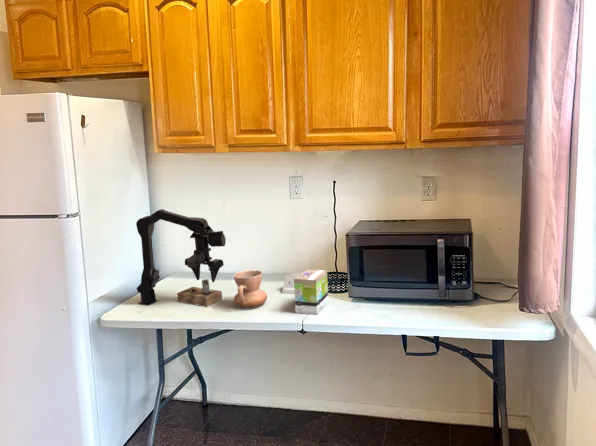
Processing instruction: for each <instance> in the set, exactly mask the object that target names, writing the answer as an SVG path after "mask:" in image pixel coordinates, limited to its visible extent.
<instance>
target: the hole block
mask: <svg viewBox="0 0 596 446" xmlns="http://www.w3.org/2000/svg"><path fill="white" fill-rule="evenodd" d="M209 289H210V288H209ZM176 294H177V302H180V303H181V302H182V303H186V304H191V303H192V305H196V304H197V306H202V305H204V306H203V307H209V306H212V305H214V304H216V303H218V302H220V301H222V300H223V293H222V290H217V289H210V294H209V295H203V287H197V286H191V287H188V288H186V289H184V290H181V291H179V292H177V293H176ZM211 304H212V305H211Z"/></svg>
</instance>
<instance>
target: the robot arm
mask: <svg viewBox="0 0 596 446" xmlns="http://www.w3.org/2000/svg"><path fill="white" fill-rule="evenodd" d="M159 221H165V222H169V223H172V224H176V225H177V226H183V227H185V228H187V230H189V231H191V232H192V233H191V235H190V236H189V239H194V245H195V249H194V250H193V255H190V256H189V257H187V258H185V260H184V265H185V266H187V268H189V269H191V270H192V272H193V275H194V277H195V279H196V281H199V280H200V278H201V265H205V266H206V265H207V267H208V271H210V278H211V282H212V283H214V282H215V281H216V278H217V276H218V272H219V271H220V268H222V267H224V260H223V259H220V258H218V259H217V258H215V259H213V257H212V256H210V255H211V254H210V252H211V251H212V247H213V248H214V247H215V248H216V247H218V248H219V247H225V246H226V243H227V240H226V239H227V238H226V235H225V234H224V231H223V230H218V231H217V230H216V231H214V230H213V228H211V226H210V225H209V223H208V221H207V219H205V218H203V217H194V216H193V217H189V216H186V215H182V214H178V213H174V212H171V211H168V210H165V209H164V208H163V209H162V208H161V209H158V210H156V211H155V212H154V213H152V214H150V215H146V216H143V217H141V218H139V219H137V221H136V224H135V225H136V229H137V233H138V235H139V236H140V240H141V241H140V242H141V252H142V254H141V255H142V262H143V263H142V264H143V269H142V273H141V280H140V283H139V285H137V287H136V291H137V293H139V295H140V301H139V302H138V304H140V305H143V306H149V305H152V304H155V303H157V302H159V299H157V298H156V292H155V287H157V286H156V285H157V284H158V283H159V281H160V278H161V277H160V270H159V269H156V267H155V264H154V263H155V261H154V247H153V234H154V230H155V223H157V222H159ZM209 246H210V247H209Z"/></svg>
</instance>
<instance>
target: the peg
mask: <svg viewBox="0 0 596 446" xmlns="http://www.w3.org/2000/svg"><path fill="white" fill-rule="evenodd" d="M201 285H202V287H201V288H203V295H209V294H210V280H209V279H202V280H201Z"/></svg>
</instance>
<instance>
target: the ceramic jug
mask: <svg viewBox="0 0 596 446" xmlns="http://www.w3.org/2000/svg"><path fill="white" fill-rule="evenodd" d="M233 279H234V282H235V284H236V287H237V293H236V294H235V295H234V297H233V302H234V304H235V305H236V306H238V307H240V308H247V309H248V308H256V307H260V306H261V305H263V304H265V302H267V299H268V295H267V293H266V292H265V291H264V290H262V289H261V288H260V286H261V284H262V281H263V280H262V279H263V271H262V270H259V269H258V270H257V269H256V270H254V269H246V270H242V271H238V272H236V273H235V274H234V275H233Z"/></svg>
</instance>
